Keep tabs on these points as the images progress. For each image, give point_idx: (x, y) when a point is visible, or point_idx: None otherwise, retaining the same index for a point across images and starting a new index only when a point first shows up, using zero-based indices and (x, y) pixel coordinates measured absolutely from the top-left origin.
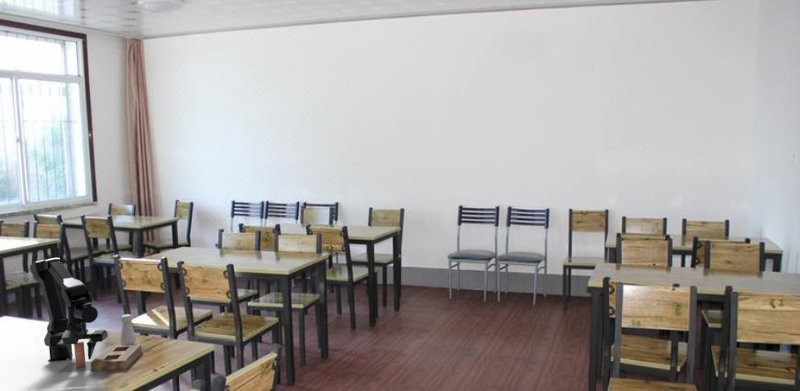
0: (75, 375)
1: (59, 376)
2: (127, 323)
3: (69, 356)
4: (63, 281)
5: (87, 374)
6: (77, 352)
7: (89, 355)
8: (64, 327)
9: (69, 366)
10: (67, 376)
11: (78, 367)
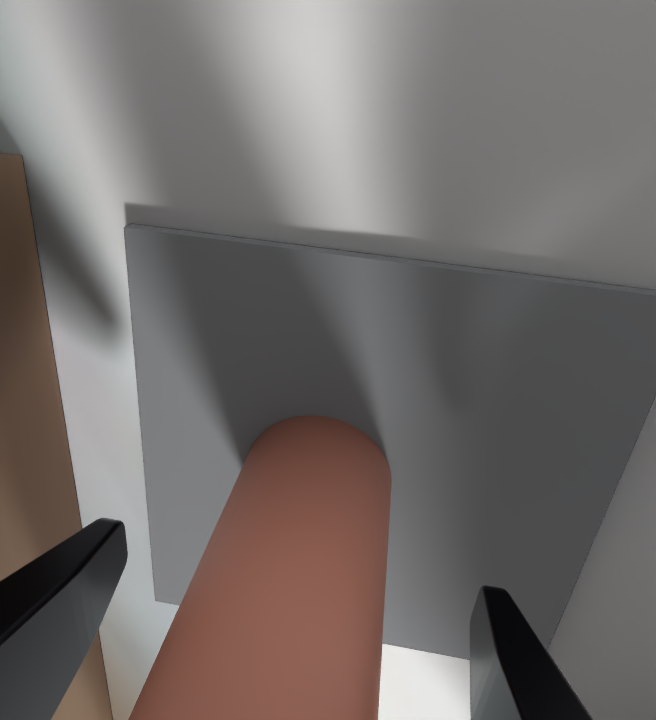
0: (272, 38)
1: (632, 74)
2: None
3: (514, 666)
4: None
5: (34, 31)
6: (257, 705)
7: (34, 573)
8: None
9: (510, 532)
10: (439, 15)
11: (332, 424)
